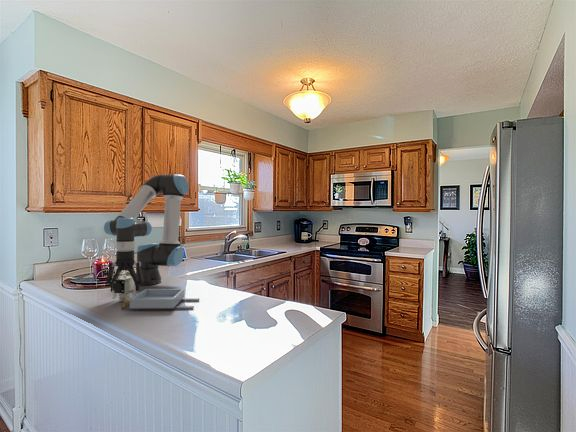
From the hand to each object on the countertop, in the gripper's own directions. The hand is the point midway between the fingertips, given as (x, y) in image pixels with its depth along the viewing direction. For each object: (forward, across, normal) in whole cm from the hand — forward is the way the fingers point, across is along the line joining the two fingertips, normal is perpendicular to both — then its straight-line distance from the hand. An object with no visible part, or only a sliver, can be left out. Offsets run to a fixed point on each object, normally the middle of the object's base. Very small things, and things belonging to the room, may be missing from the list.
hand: (125, 298), depth 146 cm
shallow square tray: (0, +18, -7) cm, 19 cm away
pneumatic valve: (+1, -1, 0) cm, 2 cm away
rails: (+1, +19, -7) cm, 21 cm away
